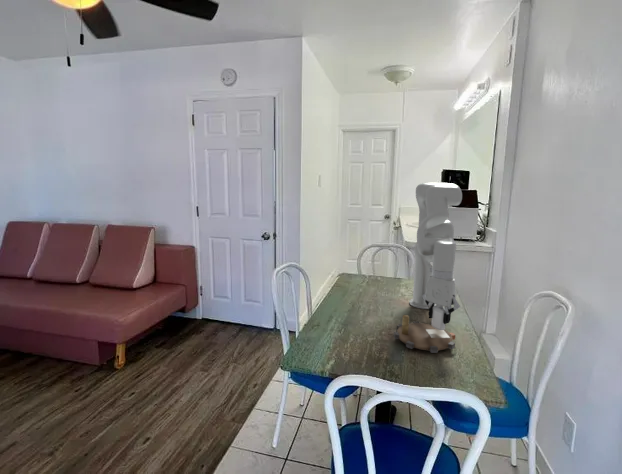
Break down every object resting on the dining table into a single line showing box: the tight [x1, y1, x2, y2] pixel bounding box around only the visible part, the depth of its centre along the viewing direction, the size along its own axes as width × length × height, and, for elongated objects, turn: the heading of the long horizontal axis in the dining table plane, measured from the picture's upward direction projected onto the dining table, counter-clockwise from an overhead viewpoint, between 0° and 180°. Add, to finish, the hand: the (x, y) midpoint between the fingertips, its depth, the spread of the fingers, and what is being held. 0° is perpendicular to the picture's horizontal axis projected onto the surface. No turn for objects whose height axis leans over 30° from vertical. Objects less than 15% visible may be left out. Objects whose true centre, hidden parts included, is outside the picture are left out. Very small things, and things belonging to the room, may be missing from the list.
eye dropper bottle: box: [430, 304, 446, 330], centre depth 133 cm, size 4×6×12 cm
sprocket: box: [393, 314, 456, 354], centre depth 134 cm, size 23×23×9 cm
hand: (438, 319), depth 133 cm, fingers closed on eye dropper bottle, 5 cm apart
